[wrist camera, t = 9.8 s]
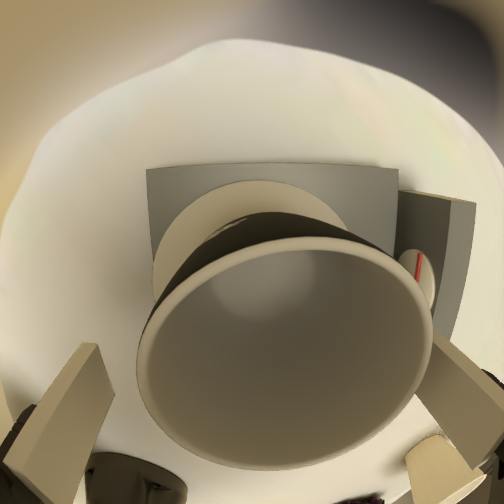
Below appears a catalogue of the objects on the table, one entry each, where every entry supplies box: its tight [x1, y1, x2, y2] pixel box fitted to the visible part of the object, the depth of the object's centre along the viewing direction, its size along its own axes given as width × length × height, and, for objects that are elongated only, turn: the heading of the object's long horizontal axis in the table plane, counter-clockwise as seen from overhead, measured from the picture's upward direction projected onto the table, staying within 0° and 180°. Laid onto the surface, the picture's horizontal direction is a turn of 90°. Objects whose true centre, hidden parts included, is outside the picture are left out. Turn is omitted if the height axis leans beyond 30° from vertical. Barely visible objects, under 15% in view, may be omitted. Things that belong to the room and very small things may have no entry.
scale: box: [146, 163, 476, 341], centre depth 17 cm, size 19×15×7 cm
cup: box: [405, 435, 486, 504], centre depth 25 cm, size 12×12×12 cm
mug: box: [136, 212, 433, 471], centre depth 12 cm, size 12×9×10 cm
